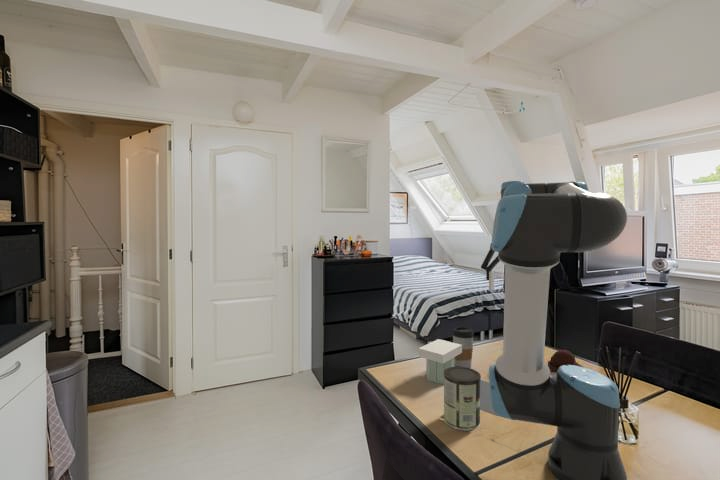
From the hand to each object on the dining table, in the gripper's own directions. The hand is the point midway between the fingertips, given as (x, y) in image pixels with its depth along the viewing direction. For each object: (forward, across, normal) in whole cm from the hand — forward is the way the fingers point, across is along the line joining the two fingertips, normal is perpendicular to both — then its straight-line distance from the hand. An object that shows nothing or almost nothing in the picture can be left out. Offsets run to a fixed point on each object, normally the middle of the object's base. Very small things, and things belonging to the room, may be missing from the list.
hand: (511, 292), depth 118 cm
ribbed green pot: (+34, +24, +4) cm, 42 cm away
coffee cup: (+34, +22, -12) cm, 42 cm away
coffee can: (+35, +6, +26) cm, 44 cm away
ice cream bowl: (+34, -14, -12) cm, 39 cm away
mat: (+34, +6, +7) cm, 36 cm away
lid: (+25, +24, +4) cm, 35 cm away
